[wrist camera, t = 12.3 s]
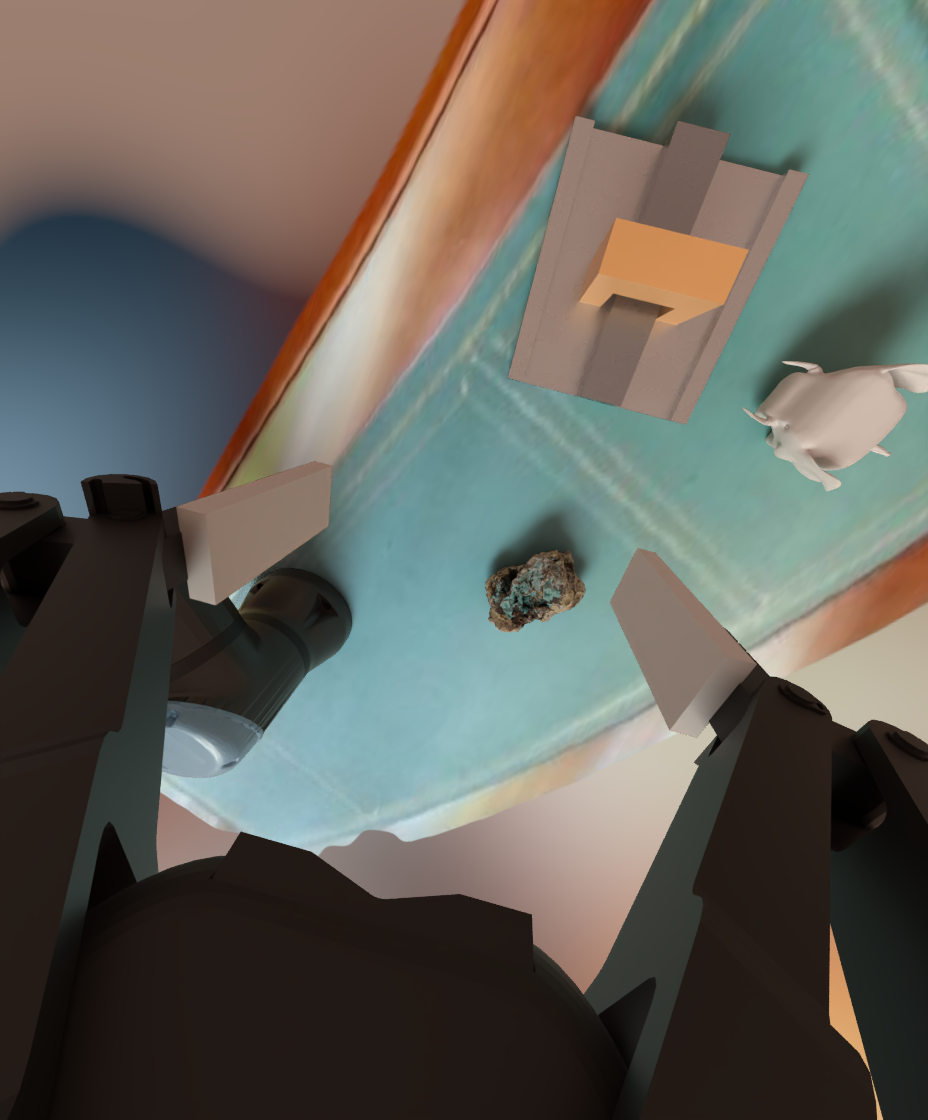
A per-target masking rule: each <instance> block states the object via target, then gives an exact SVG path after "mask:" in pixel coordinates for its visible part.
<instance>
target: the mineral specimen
mask: <svg viewBox="0 0 928 1120" xmlns="http://www.w3.org/2000/svg"><path fill="white" fill-rule="evenodd" d="M485 583H486V587H485V588H486V591H487V594H486V596H487V598H488V602H489V604H490V606H491V608H490V612H489V615H490V617H489V618H488V619H489V621H490V622H491V623H494V624H495V627H496V628H497V629H499V630H500V631H503V632H513V631H517V632H518V631H519V630H520V629H521V628H522V627H523V626H524V624H527V623H530V622H532V621H533V620H534V619H538V620H540V621H542V622H544V621H548V620H550V618H551V617H552V616H553V615H554V614H557V613H560V612H563V611H565V610H570V609H571V608H573V607H575V606H576V605H577V604H578V603H579V602H580V600H581V599H582V598H583V596H584V594H585V591H586V589H585V585H584V583H583V582H582V580H581V579H579V578H578V577H577V575H576V574H575V572H574V560H573V556H572V554H571V551H567V552H560V553H559V552H558V550H554V551H550V552H541V553H540V554H535V555H533V556H532V557H531V559H530V560H529V561H528V562H527V564H524V565H521V566H515V565H513V566H510V567H504V568H502V569H500V570H499V571H498V572H497V573H496V574H494V575H493V576H491V577H489V578H488V579H487V581H486V582H485Z"/></svg>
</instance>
